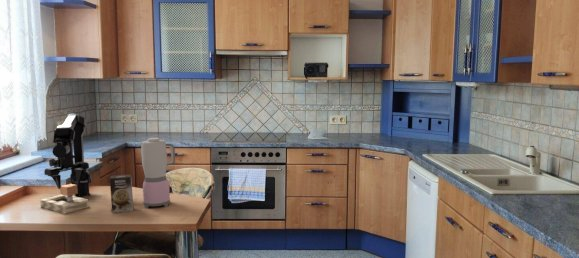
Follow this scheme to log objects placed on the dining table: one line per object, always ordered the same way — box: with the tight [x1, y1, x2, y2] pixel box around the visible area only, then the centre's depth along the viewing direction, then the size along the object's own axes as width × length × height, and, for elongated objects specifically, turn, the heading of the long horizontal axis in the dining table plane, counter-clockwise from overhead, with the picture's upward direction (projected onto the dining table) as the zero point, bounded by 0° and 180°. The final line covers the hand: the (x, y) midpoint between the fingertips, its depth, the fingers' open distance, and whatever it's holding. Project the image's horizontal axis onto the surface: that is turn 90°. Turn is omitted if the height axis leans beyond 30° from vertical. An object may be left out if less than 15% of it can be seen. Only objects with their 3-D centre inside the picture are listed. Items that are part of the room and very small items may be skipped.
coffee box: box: [109, 174, 134, 214], centre depth 210 cm, size 9×6×16 cm
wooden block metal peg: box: [60, 183, 78, 203], centre depth 214 cm, size 5×5×11 cm
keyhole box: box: [39, 194, 90, 215], centre depth 217 cm, size 20×12×4 cm, turn 57°
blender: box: [139, 137, 176, 209], centre depth 216 cm, size 16×12×32 cm
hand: (68, 186), depth 213 cm, fingers open, 9 cm apart
